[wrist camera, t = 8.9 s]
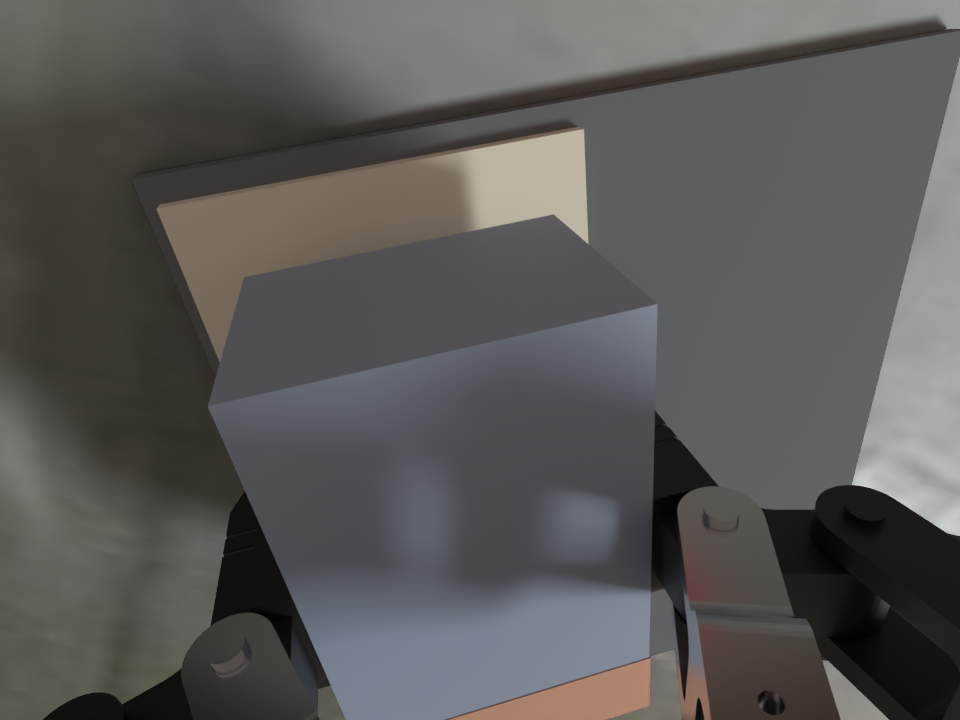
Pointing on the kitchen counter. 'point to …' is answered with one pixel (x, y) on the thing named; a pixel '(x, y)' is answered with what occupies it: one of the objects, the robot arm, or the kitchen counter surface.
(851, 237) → the mat
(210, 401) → the card box
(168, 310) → the kitchen counter surface
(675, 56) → the kitchen counter surface
